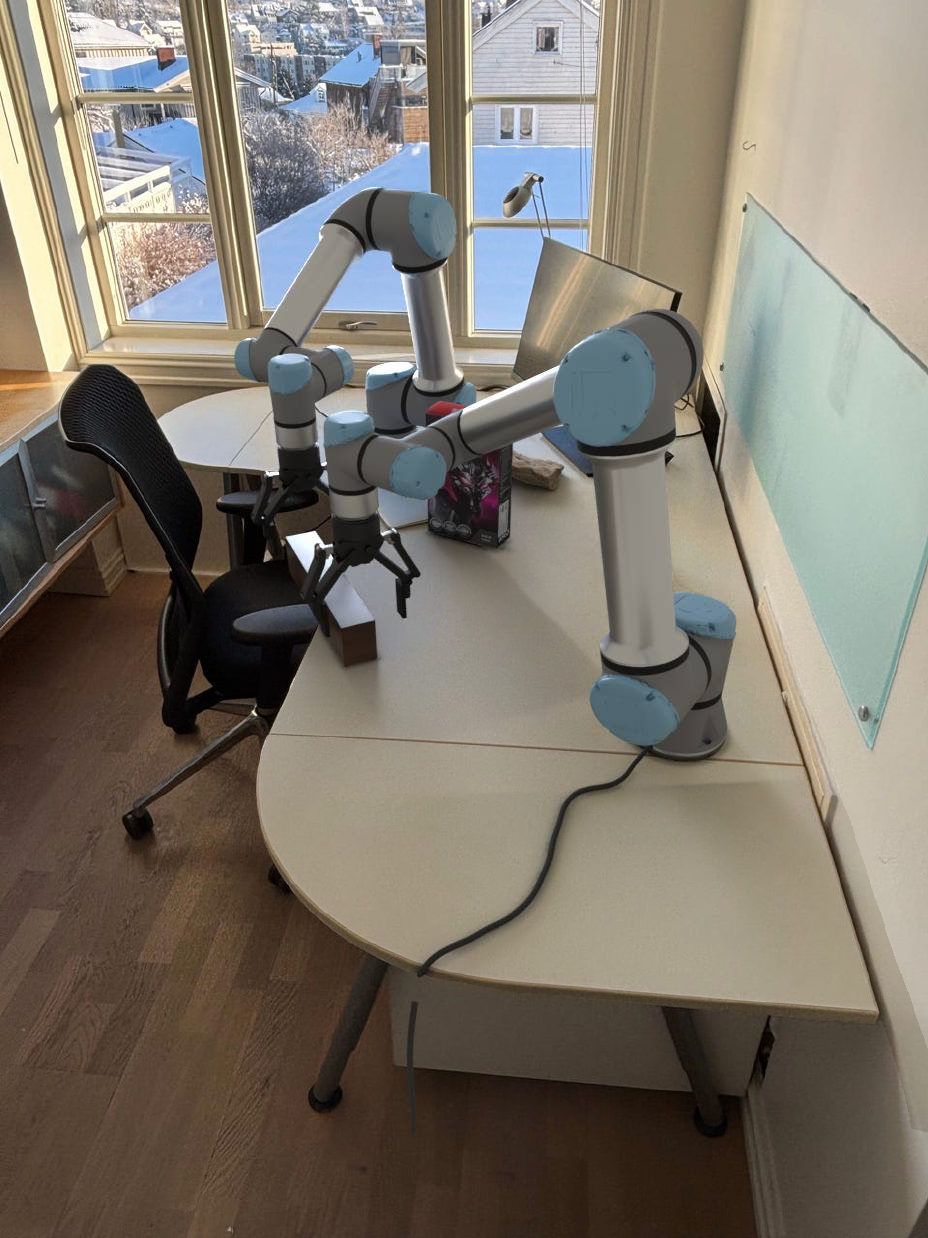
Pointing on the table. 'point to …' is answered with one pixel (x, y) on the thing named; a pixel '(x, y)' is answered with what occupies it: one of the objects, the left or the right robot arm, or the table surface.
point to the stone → (535, 470)
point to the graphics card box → (473, 494)
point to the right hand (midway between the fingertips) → (364, 624)
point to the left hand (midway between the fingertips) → (309, 545)
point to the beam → (336, 604)
